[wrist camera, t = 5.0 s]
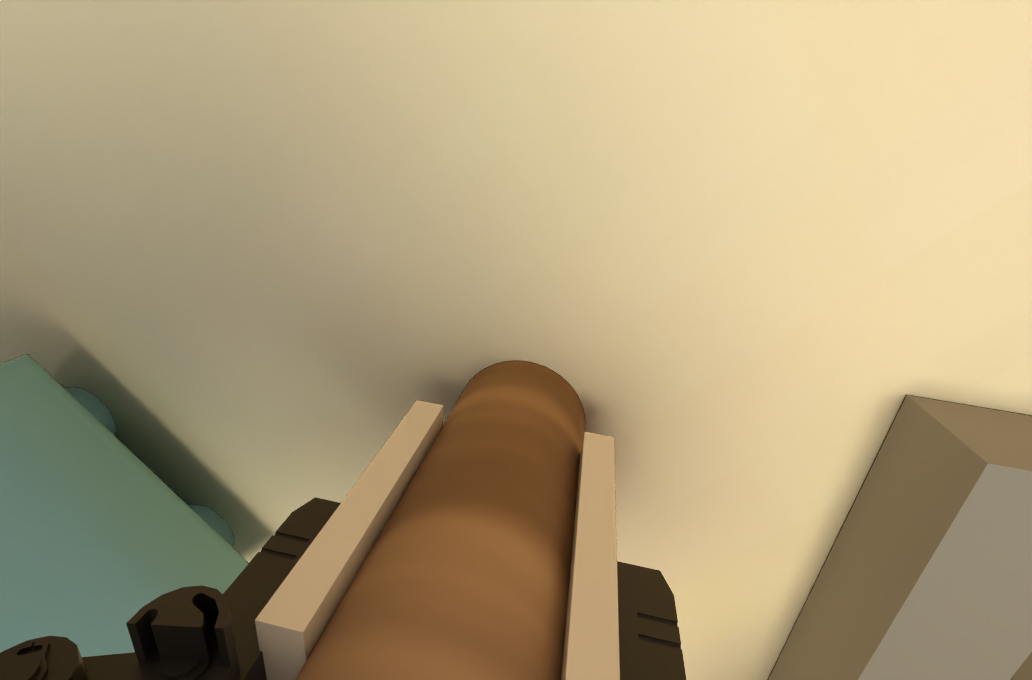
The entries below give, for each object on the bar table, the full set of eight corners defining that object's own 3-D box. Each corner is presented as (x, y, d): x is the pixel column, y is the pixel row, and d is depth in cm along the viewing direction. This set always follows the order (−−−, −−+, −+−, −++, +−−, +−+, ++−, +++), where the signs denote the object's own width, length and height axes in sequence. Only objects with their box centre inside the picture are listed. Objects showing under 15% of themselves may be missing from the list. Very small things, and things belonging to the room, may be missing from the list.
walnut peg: (463, 350, 15) (-159, 1246, 3) (595, 374, 14) (532, 1578, 2) (455, 458, 16) (36, 1324, 4) (574, 482, 16) (469, 1530, 4)
